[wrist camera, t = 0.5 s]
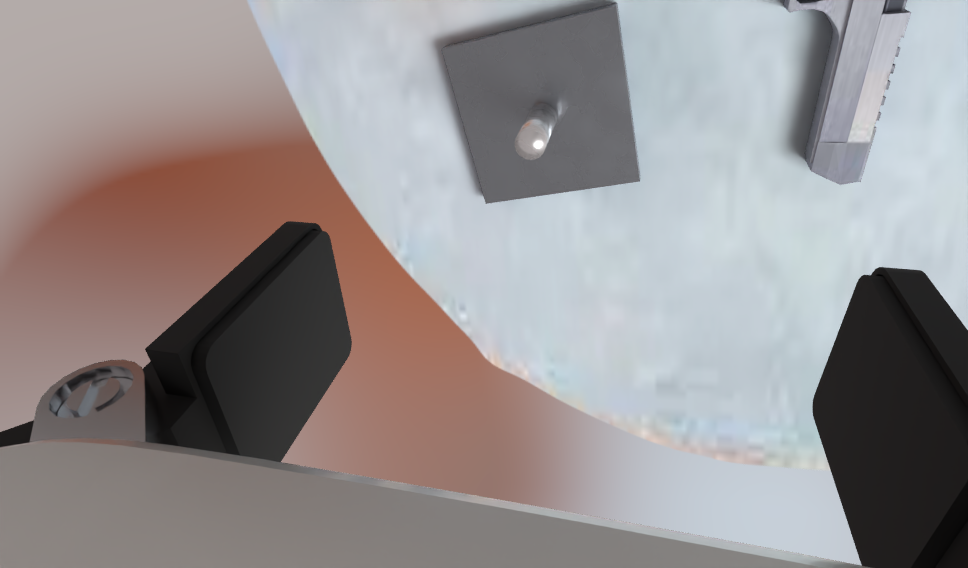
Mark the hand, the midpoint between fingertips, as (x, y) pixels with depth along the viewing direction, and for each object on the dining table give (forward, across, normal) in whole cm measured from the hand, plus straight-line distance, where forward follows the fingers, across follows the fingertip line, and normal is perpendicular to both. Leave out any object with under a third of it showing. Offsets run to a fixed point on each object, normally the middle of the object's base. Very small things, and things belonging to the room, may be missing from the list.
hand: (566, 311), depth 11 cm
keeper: (+33, +5, +6) cm, 34 cm away
